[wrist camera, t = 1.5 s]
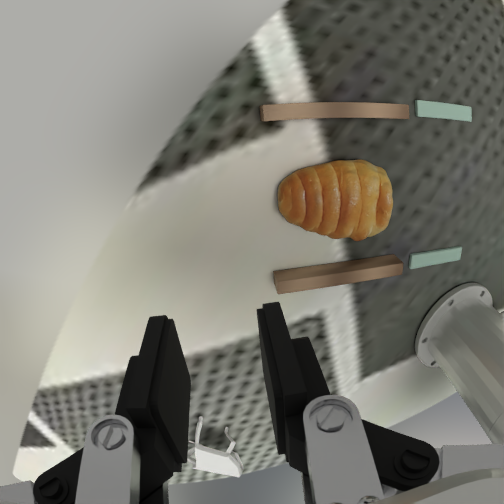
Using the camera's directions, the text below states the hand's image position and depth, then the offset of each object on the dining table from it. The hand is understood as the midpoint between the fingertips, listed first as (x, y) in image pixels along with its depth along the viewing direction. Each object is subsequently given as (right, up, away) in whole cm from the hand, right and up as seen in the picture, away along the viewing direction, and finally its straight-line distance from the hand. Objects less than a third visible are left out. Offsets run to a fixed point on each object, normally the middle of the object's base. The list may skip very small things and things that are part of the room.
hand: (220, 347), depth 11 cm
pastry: (+8, +8, +17) cm, 20 cm away
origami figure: (-4, -22, +29) cm, 36 cm away
